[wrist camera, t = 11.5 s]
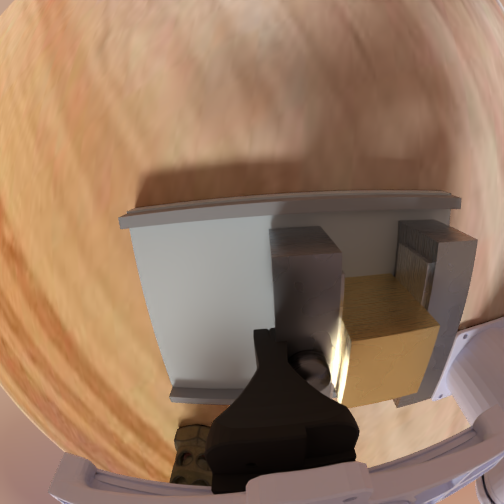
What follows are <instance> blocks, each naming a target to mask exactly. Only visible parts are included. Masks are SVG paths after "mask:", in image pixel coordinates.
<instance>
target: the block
mask: <svg viewBox="0 0 504 504" xmlns="http://www.w3.org/2000/svg"><path fill="white" fill-rule="evenodd" d="M439 328H440V324H439V323H438V322H437V321H436V320H435V319H434V318H433V317H432V316H431V314H430V313H429V312H428V311H427V310H426V309H425V308H424V307H423V306H422V305H421V304H420V303H419V302H418V301H417V300H416V299H415V298H414V297H413V296H412V295H411V294H410V293H409V291H408V290H407V289H406V288H405V287H404V286H403V285H402V284H401V283H400V282H399V281H398V280H397V279H396V278H395V277H394V276H393V275H392V274H391V273H387V274H377V275H367V276H357V277H346V278H345V284H344V300H343V313H342V319H341V330H340V340H339V349H338V358H337V366H336V373H335V380H334V388H335V392H336V396H337V400H338V403H340V404H343V405H345V406H346V407H347V408H352V407H358V406H363V405H368V404H373V403H378V402H382V401H386V400H391V399H395V398H399V397H403V396H407V395H410V394H414V393H417V392H418V389H419V387H420V384H421V382H422V379H423V377H424V374H425V371H426V369H427V366H428V363H429V360H430V357H431V354H432V351H433V348H434V345H435V342H436V339H437V335H438V332H439Z"/></svg>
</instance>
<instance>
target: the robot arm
mask: <svg viewBox="0 0 504 504" xmlns="http://www.w3.org/2000/svg"><path fill="white" fill-rule="evenodd" d="M253 339H254V348H255V357H256V366H257V370H256V371H255V373H254V375H253V377H252V378H251V380H250V382H249V383H248V385H247V386H246V387H245V389H244V390H243V391H242V393H241V394H240V395H239V396H238V398H237V399H236V400H235V401H234V402H233V403H232V404H231V405H230V406H229V407H228V408H227V409H226V410H225V411H224V412H223V413H222V414H221V415H219V416H218V417H217V418H216V419H215V420H214V421H213V423H212V425H211V428H210V430H209V433H208V436H207V440H206V444H205V453H204V456H205V460H206V462H207V464H208V466H209V468H210V470H211V471H212V486H194V485H182V484H173V483H165V482H158V481H151V480H145V479H140V478H135V477H130V476H125V475H120V474H116V473H112V472H108V471H104V470H101V469H97V468H96V467H95V465H94V464H93V463H92V462H90V461H89V460H87V459H85V458H83V457H80V456H77V455H74V454H71V453H68V452H65V453H64V455H63V457H62V459H61V461H60V464H59V466H58V468H57V471H56V473H55V475H54V477H53V480H52V482H51V485H50V487H49V490H48V493H49V494H50V495H51V496H53V497H54V498H56V499H57V500H58V501H60V502H61V503H63V504H436V503H438V502H439V501H441V500H443V499H445V498H446V497H448V496H450V495H451V494H453V493H455V492H456V491H458V490H460V489H461V488H463V487H465V486H466V485H468V484H469V483H471V482H472V481H474V480H476V482H475V487H476V494H477V497H478V500H479V502H480V504H504V317H501V318H498V319H496V320H493V321H489V322H486V323H483V324H480V325H477V326H474V327H470V328H467V329H463V330H460V331H458V332H457V334H456V337H455V340H454V343H453V346H452V348H451V351H450V354H449V357H448V359H447V362H446V365H445V367H444V370H443V372H442V375H441V377H440V379H439V382H438V384H437V386H436V388H435V391H434V393H433V395H432V397H431V399H432V401H436V400H439V399H442V398H445V397H447V396H450V395H452V396H453V397H454V399H455V401H456V402H457V404H458V406H459V407H460V409H461V410H462V412H463V414H464V416H465V417H466V419H467V421H468V422H469V424H470V426H471V427H469V428H467V429H465V430H463V431H461V432H460V433H458V434H456V435H454V436H452V437H450V438H448V439H445V440H443V441H441V442H439V443H437V444H435V445H432V446H430V447H428V448H425V449H423V450H420V451H418V452H415V453H413V454H410V455H407V456H405V457H402V458H399V459H396V460H393V461H390V462H387V463H384V464H381V465H378V466H374V467H371V468H367V465H366V464H365V463H361V462H357V461H355V459H356V453H355V450H354V447H355V445H356V442H357V439H358V437H359V428H358V425H357V423H356V421H355V419H354V417H353V416H352V414H351V412H350V411H349V409H348V408H347V407H346V406H345V405H343V404H340V403H338V402H336V401H334V400H332V399H330V398H329V397H327V396H326V395H324V394H322V393H321V392H320V391H318V390H317V389H316V388H314V387H313V386H312V385H310V384H309V383H308V382H307V381H305V380H304V379H303V378H302V377H301V376H300V375H299V374H298V373H297V372H296V371H295V370H294V369H293V368H292V367H291V365H290V364H289V363H288V356H287V341H280V342H276V334H275V328H270V329H269V330H268V329H267V328H266V329H255V330H253Z"/></svg>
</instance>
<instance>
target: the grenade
mask: <svg viewBox="0 0 504 504" xmlns="http://www.w3.org/2000/svg"><path fill="white" fill-rule="evenodd" d="M209 430H210V428H209V427H205V426H199V425H191V426H186V427H182V428H179V429H177V432H176V435H175V439H174V442H175V448H176V451H177V454H176V459H175V463H174V466H173V470H172V474H171V478H170V483H173V484H182V485H194V486H212V471H211V470H210V468H209V466H208V464H207V462H206V460H205V456H204V453H205V444H206V440H207V436H208V433H209Z"/></svg>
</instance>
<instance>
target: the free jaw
mask: <svg viewBox="0 0 504 504" xmlns="http://www.w3.org/2000/svg"><path fill="white" fill-rule="evenodd" d="M269 243H270V258H271V274H272V291H273V309H274V327H275V334H276V342H280V341H287V356H288V363H289V364H290V365H291V367H292V368H293V369H294V370H295V371H296V372H297V373H298V374H299V375H300V376H301V377H302V378H303V379H304V380H305V381H307V382H308V383H309V384H310V385H312V386H313V387H314V388H316V389H317V390H318V391H320V392H321V393H322V394H324V395H326V396H327V397H329V398H330V399H332V397H333V390H334V380H335V373H336V366H337V358H338V349H339V340H340V330H341V319H342V313H343V300H344V284H345V273H344V272H343V270H342V252H341V250H340V249H339V248H338V247H337V245H336V244H335V243H334V242H333V241H332V239H331V238H330V237H329V236H328V235H327V233H326V232H325V231H324V230H323V229H322V227H321V226H307V227H291V228H276V229H269Z"/></svg>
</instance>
